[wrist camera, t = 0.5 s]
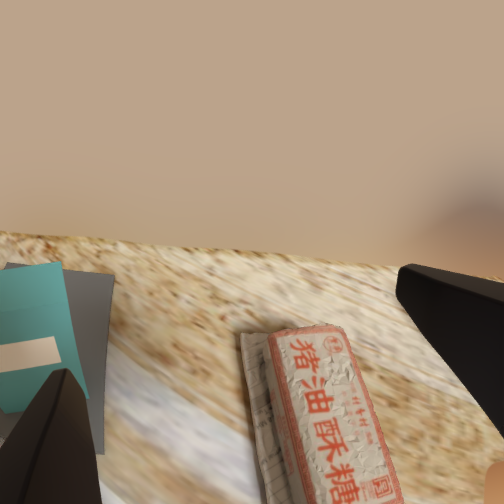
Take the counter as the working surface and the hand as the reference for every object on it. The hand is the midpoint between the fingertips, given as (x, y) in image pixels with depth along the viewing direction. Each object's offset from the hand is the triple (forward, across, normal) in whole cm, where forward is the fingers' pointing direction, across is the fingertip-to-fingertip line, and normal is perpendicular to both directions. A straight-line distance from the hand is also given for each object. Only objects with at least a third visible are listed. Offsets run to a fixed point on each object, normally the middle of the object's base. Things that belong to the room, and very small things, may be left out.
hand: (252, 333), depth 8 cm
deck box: (+10, +13, +9) cm, 18 cm away
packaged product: (+6, -5, +18) cm, 19 cm away
